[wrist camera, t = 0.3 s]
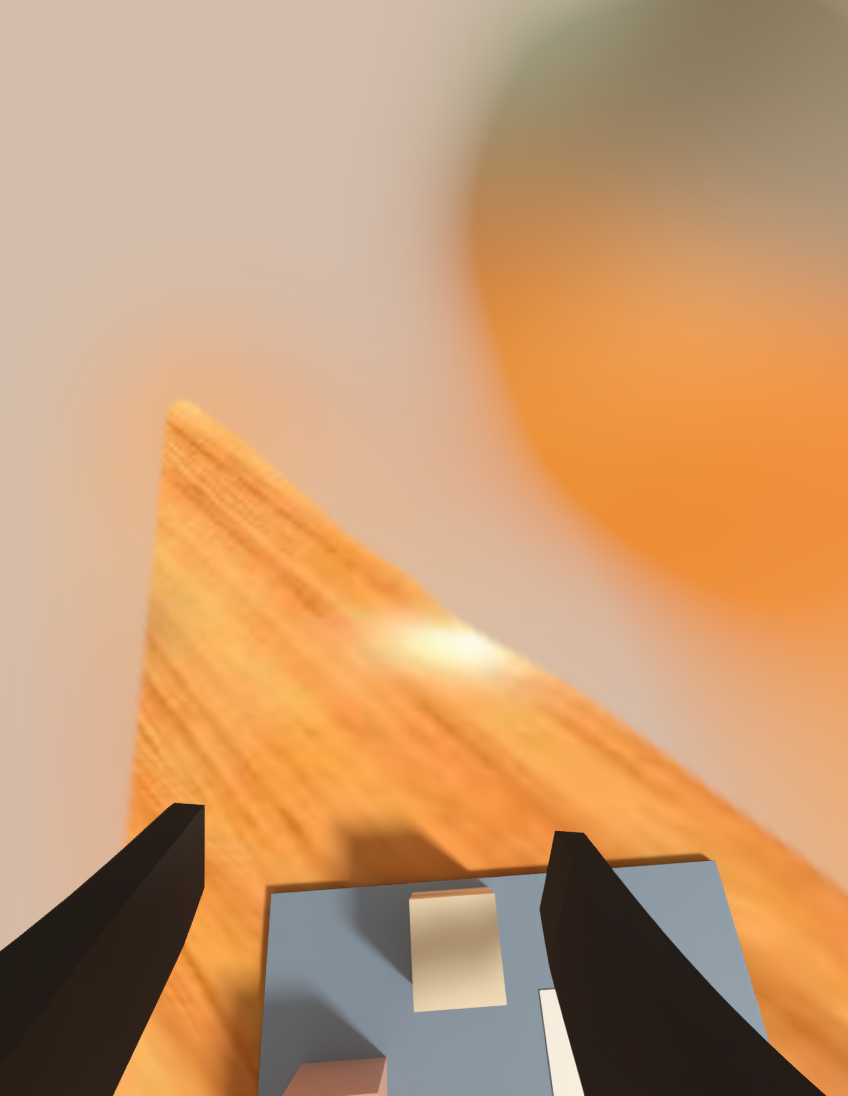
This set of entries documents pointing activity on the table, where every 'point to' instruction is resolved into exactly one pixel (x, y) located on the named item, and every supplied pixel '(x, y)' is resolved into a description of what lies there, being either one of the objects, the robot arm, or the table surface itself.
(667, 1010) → the robot arm
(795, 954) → the table surface
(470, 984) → the maple cube
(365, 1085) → the terracotta cube
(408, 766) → the table surface
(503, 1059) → the board
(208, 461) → the table surface
